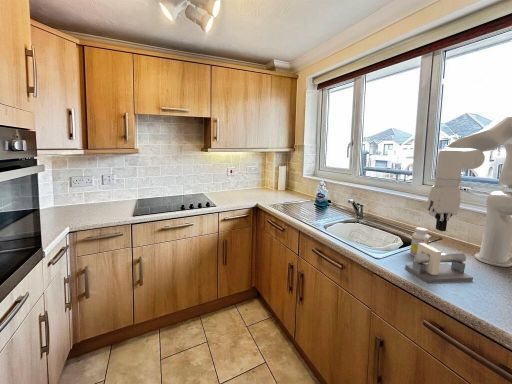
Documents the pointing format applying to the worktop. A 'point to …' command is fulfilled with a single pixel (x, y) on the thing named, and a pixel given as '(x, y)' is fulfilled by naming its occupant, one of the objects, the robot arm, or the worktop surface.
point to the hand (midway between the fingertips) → (440, 230)
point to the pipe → (455, 258)
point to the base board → (441, 275)
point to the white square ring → (434, 257)
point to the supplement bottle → (419, 239)
